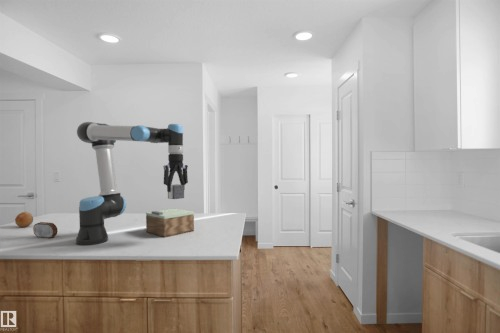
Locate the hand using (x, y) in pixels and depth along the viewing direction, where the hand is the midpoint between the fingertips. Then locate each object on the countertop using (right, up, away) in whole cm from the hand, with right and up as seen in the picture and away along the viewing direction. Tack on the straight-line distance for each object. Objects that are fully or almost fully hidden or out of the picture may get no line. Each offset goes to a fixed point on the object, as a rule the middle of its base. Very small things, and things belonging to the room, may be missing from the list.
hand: (176, 197), depth 164 cm
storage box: (-9, -23, +23) cm, 33 cm away
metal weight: (0, 0, 0) cm, 0 cm away
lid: (-9, -13, +22) cm, 27 cm away
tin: (-77, -24, +12) cm, 82 cm away
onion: (-110, -24, +41) cm, 120 cm away
